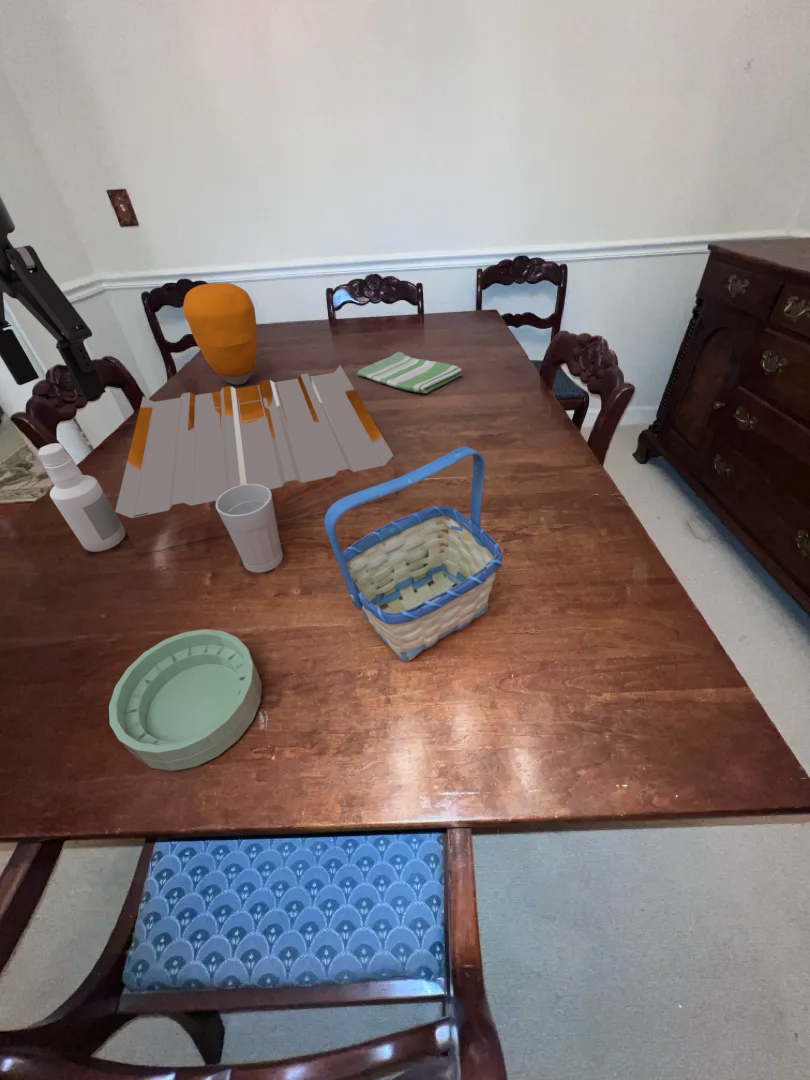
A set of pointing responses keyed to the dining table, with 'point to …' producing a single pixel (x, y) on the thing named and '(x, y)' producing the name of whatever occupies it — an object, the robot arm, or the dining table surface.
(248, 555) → the cup
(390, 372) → the dish towel
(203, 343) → the orange egg-shaped ornament
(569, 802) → the dining table surface
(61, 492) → the white bottle
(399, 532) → the basket
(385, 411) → the dining table surface
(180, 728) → the bowl
